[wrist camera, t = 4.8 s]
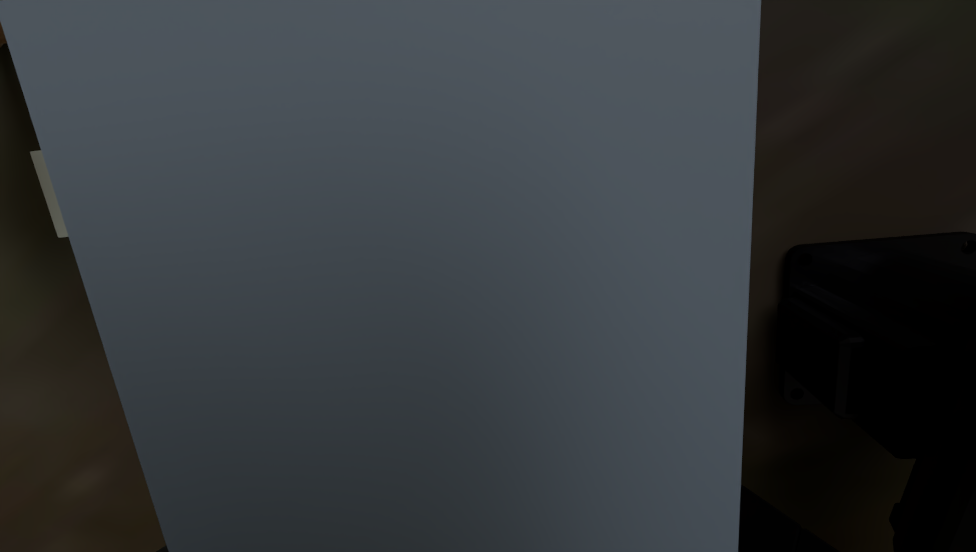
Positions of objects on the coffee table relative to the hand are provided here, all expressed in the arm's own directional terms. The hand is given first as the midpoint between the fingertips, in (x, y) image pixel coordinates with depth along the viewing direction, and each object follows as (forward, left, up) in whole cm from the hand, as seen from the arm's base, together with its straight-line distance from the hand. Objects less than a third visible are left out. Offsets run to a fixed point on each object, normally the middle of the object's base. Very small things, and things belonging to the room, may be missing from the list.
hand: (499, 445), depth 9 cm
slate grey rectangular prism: (0, +1, -1) cm, 1 cm away
